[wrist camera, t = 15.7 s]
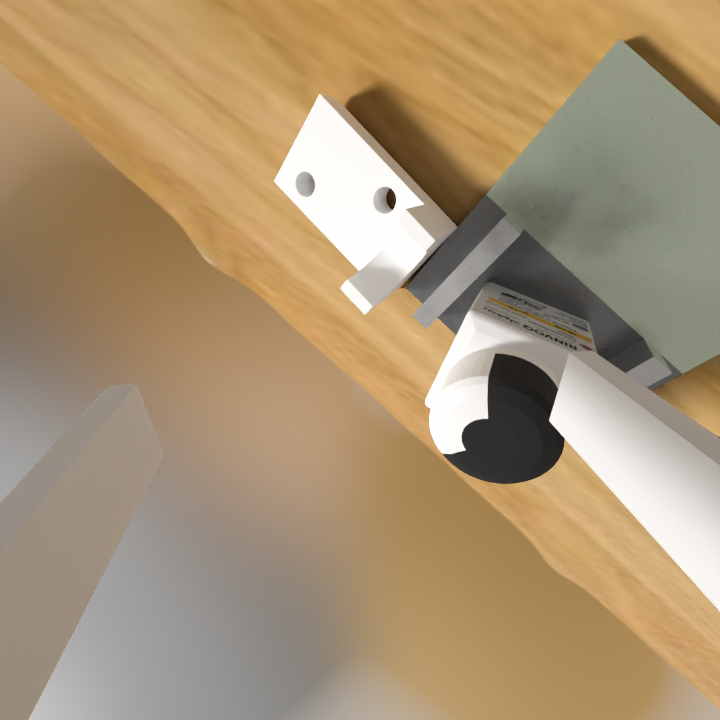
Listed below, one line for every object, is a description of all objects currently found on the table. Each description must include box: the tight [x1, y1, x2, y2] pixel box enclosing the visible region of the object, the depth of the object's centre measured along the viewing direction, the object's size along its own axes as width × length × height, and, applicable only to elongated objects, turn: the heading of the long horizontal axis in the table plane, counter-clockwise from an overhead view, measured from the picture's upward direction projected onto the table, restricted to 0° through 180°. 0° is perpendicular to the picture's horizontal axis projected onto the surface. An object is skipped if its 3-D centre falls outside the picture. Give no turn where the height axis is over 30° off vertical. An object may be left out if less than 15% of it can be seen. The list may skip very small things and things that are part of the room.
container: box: [425, 282, 597, 484], centre depth 23 cm, size 8×8×13 cm
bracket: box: [274, 94, 458, 314], centre depth 26 cm, size 13×7×8 cm, turn 50°
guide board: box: [406, 39, 720, 391], centre depth 23 cm, size 18×18×4 cm
